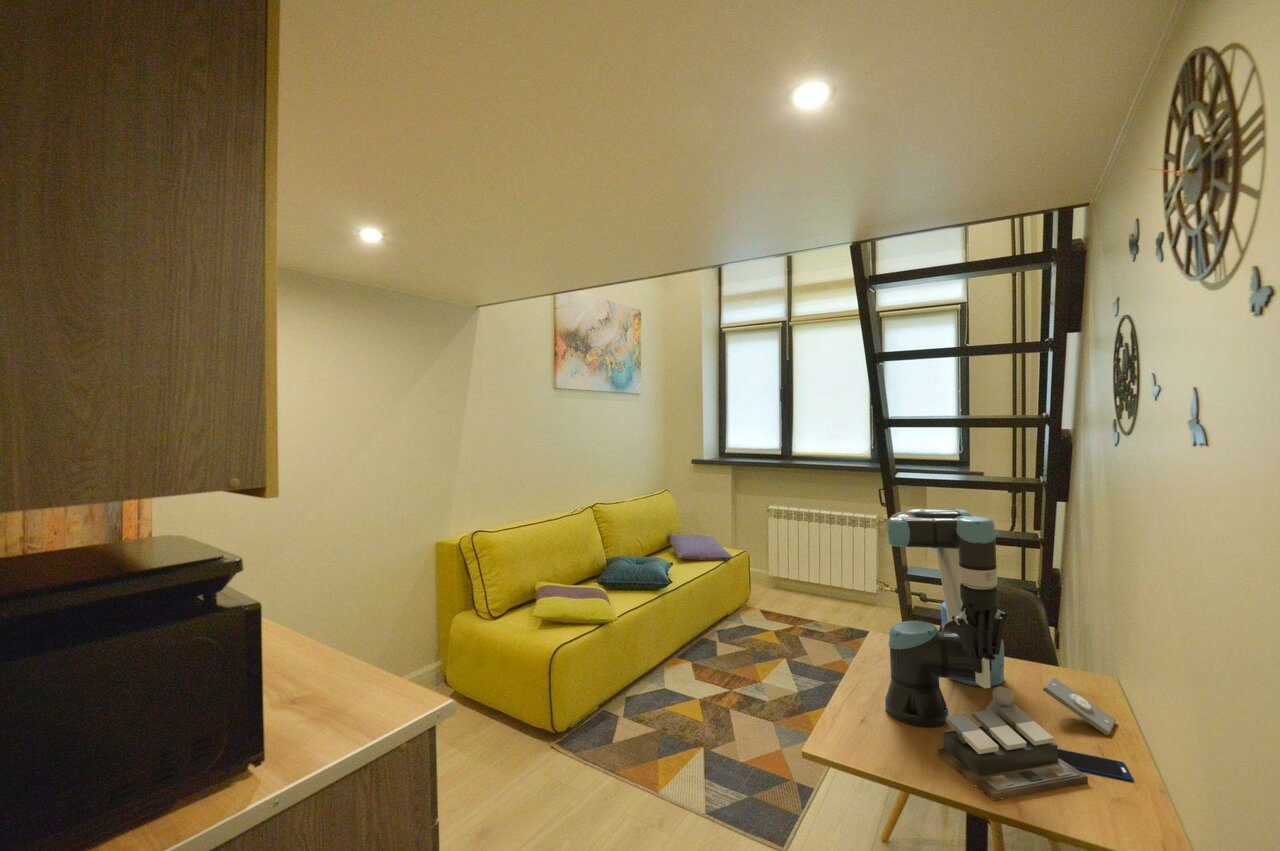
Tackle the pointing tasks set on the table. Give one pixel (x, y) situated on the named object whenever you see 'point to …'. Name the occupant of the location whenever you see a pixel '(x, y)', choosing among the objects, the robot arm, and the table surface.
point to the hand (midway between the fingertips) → (983, 685)
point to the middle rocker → (998, 729)
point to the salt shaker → (1000, 700)
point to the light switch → (1080, 706)
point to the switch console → (1011, 767)
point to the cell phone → (1096, 765)
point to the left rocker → (971, 734)
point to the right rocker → (1025, 725)
